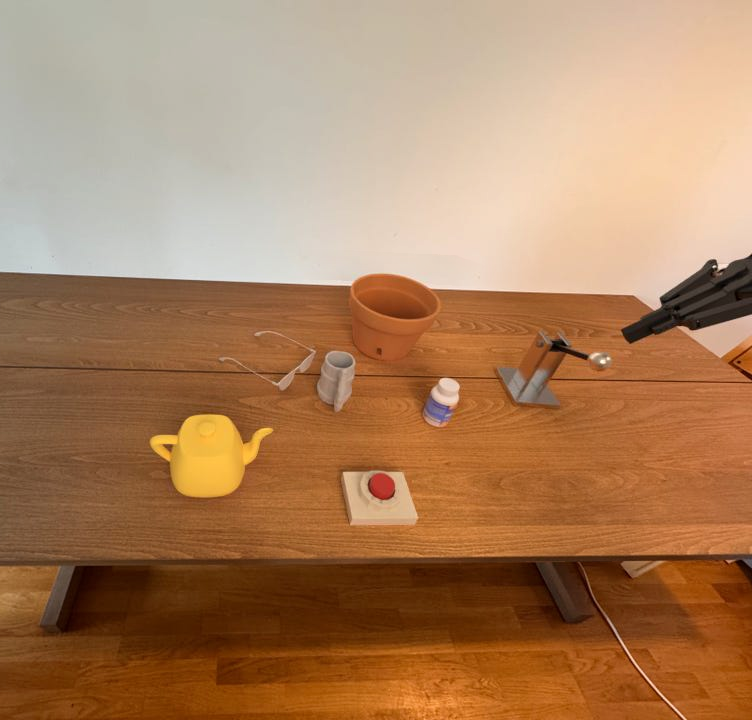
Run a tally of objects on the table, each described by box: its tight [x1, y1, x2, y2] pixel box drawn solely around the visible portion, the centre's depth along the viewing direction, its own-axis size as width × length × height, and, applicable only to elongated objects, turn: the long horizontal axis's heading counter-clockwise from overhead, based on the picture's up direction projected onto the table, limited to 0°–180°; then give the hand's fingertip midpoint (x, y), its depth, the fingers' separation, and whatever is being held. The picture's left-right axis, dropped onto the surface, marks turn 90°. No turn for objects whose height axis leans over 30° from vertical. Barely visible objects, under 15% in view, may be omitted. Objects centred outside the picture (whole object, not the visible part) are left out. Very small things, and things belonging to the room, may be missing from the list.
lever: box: [548, 337, 613, 372], centre depth 83 cm, size 17×4×4 cm, turn 177°
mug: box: [316, 350, 356, 413], centre depth 88 cm, size 8×12×12 cm, turn 178°
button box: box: [340, 470, 419, 526], centre depth 72 cm, size 11×9×4 cm
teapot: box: [149, 414, 274, 499], centre depth 71 cm, size 13×20×12 cm
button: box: [369, 473, 395, 499], centre depth 70 cm, size 4×4×2 cm
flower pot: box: [348, 273, 442, 362], centre depth 104 cm, size 21×21×15 cm
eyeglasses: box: [218, 330, 317, 391], centre depth 99 cm, size 15×18×4 cm
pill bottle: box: [422, 377, 461, 428], centre depth 86 cm, size 5×5×10 cm
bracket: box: [494, 330, 573, 410], centre depth 93 cm, size 12×10×15 cm
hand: (625, 336), depth 73 cm, fingers closed
